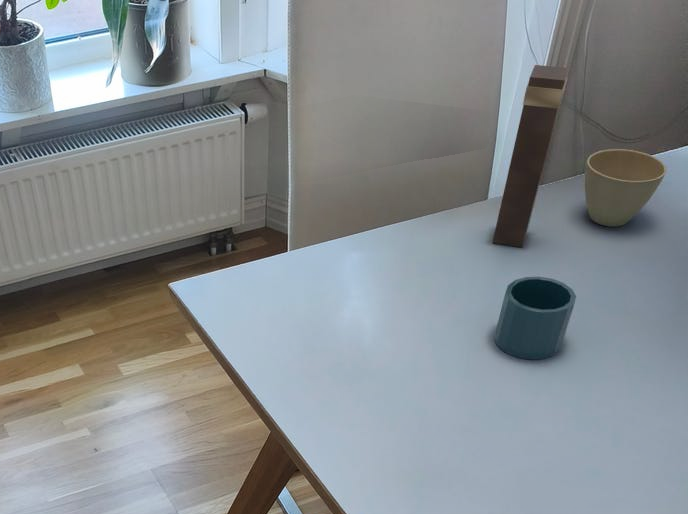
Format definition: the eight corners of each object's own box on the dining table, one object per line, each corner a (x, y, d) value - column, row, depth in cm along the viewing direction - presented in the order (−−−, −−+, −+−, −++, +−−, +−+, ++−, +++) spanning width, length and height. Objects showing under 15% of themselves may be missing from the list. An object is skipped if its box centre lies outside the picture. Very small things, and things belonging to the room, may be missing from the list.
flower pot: (626, 243, 118) (645, 188, 112) (558, 220, 122) (573, 166, 116) (659, 215, 122) (679, 161, 117) (592, 195, 127) (608, 142, 121)
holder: (564, 330, 105) (579, 282, 101) (555, 364, 101) (571, 317, 96) (500, 318, 107) (512, 272, 102) (489, 352, 103) (501, 305, 98)
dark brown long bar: (527, 233, 120) (570, 67, 104) (522, 248, 118) (565, 80, 102) (496, 229, 121) (534, 64, 106) (491, 243, 119) (528, 76, 103)
